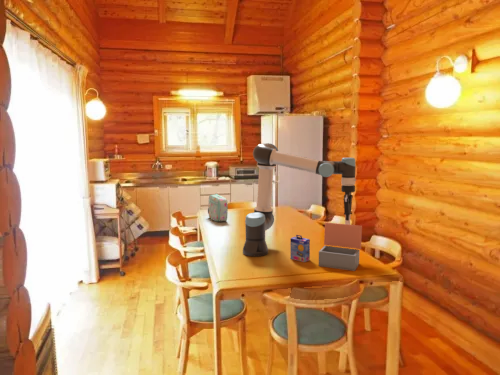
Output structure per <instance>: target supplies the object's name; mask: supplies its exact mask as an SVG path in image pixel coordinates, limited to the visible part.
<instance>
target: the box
mask: <svg viewBox="0 0 500 375" xmlns="http://www.w3.org/2000/svg"><path fill="white" fill-rule="evenodd" d="M359 265H360V249H356V248H348V247H339V246H331V245H324V246H323V247H322V248H321V249H320V250H319V251H318V266H319V267H325V268H332V269H336V270H337V269H339V270H344V271H345V270H346V271H351V272H352V271H353V272H355V271H356V270H357V268H358V267H359Z"/></svg>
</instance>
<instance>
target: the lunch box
mask: <svg viewBox="0 0 500 375" xmlns="http://www.w3.org/2000/svg"><path fill="white" fill-rule="evenodd" d="M228 212H229V211H228V200H227V198H226V197H225V196H222V195H219V194H218V193H215V194H210V195H209V197H208V208H207V214H208V218H209V219H211V220H212V221H215V222H218V223H219V222H227V220H228V214H229V213H228Z"/></svg>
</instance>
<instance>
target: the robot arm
mask: <svg viewBox="0 0 500 375" xmlns="http://www.w3.org/2000/svg"><path fill="white" fill-rule="evenodd" d="M252 156H253V159H254V160H255V161H256V162H257V163H256V166H257V167H258V168H259V170H258V181H257V182H258V183H257V198H256V206H255V207H254V209H253V210H254V211H253V212H250V213H248V214H247V215H246V216H245V221H244V224H245V225H244V226H245V241H244V244H243V248H242V254H243V255H245V256H248V257H264V256H266V255H268V253H269V248H268V244H267V241H266V231H267V230H269V229H270V228H272V227H273V225H274V222H275V215H274V210H273V208H272V192H273V181H274V180H273V178H274V176H273V175H274V169H275V168H276V167H277V166H281V167H286V168H290V169H293V170H298V171H303V172H307V173H311V174H315V175H320V176H321V177H324V178H329V177H331V176H333V175H341V180H340V181H341V189H340V190H341V192H342V193H344V195H343V209H344V210H343V211H344V213H343V216H344V218H345V219H344V224H348V225H351V215H353V212H352V205H353V194H352V193H355V192H356V181H357V178H356V168H357V167H356V159H355V157H342V158H341V160H340V161H339V160H336V161H334V160H329V161H328V160H319V159H314V158H309V157H303V156H300V155H296V154H292V153H287V152H284V151H279V149H278V147H277V146H276V145H275V144H272V143H269V142H268V143H259V144H258V145H256V146H255V147H254V148H253V151H252Z"/></svg>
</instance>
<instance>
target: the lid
mask: <svg viewBox="0 0 500 375" xmlns="http://www.w3.org/2000/svg"><path fill="white" fill-rule="evenodd" d="M362 233H363V225H360V224H359V225H358V224H356V225H355V224H350V225H348V224H345V223H334V222H324V236H323V237H324V239H323V242H324V243H323V245H324V246H332V247H341V248H349V249H358V250H362Z"/></svg>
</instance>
